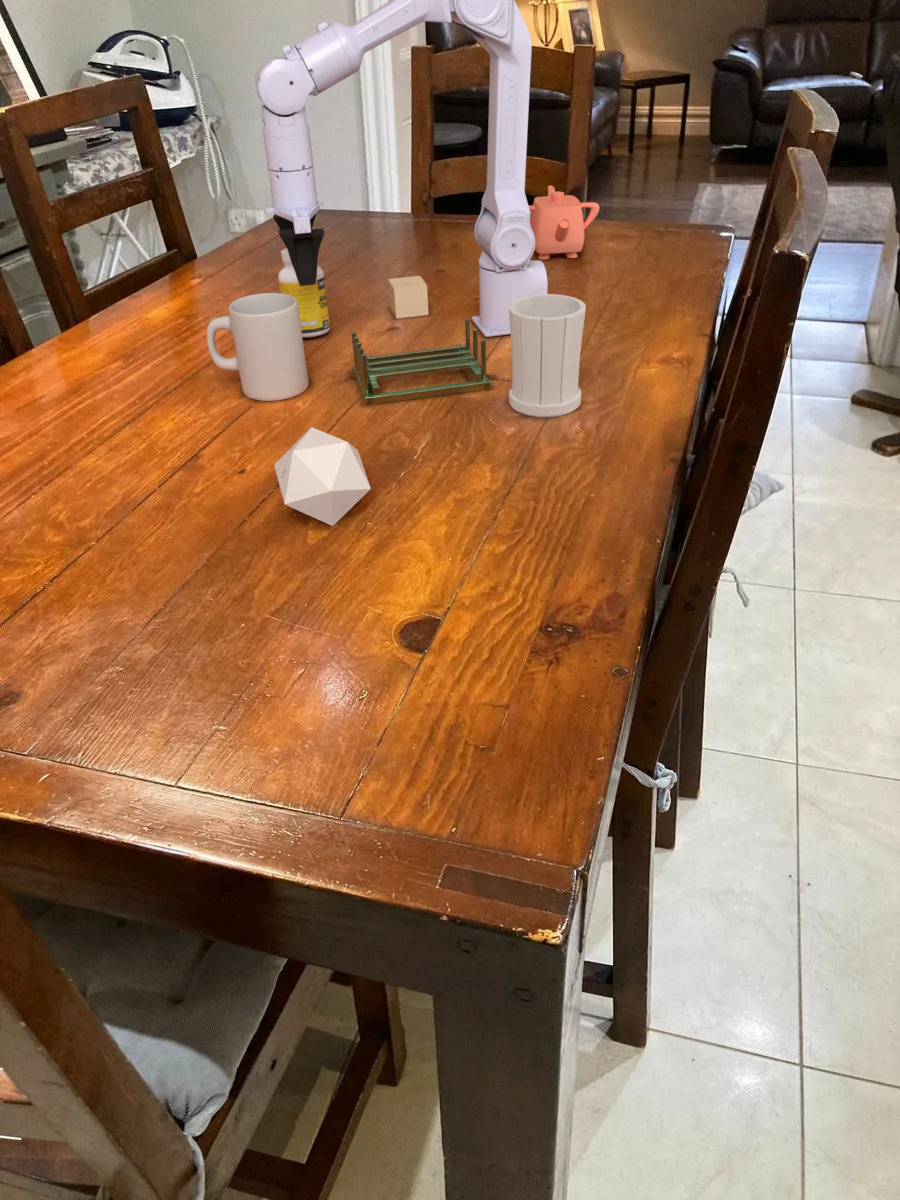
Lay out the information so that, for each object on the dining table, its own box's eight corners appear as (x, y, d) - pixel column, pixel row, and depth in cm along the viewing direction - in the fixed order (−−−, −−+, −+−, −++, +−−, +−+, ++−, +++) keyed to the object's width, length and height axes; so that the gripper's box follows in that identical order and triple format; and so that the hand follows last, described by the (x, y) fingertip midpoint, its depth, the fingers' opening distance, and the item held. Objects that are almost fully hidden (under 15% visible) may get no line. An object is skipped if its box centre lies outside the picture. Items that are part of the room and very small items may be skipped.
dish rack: (469, 358, 127) (468, 314, 123) (490, 389, 118) (490, 343, 114) (352, 372, 124) (348, 328, 120) (366, 405, 115) (361, 358, 112)
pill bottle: (322, 339, 133) (312, 253, 127) (279, 339, 134) (267, 254, 128) (336, 327, 138) (326, 244, 132) (295, 327, 140) (283, 245, 134)
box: (421, 304, 145) (420, 275, 143) (428, 315, 141) (427, 285, 139) (390, 308, 145) (388, 279, 142) (396, 318, 141) (394, 288, 138)
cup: (490, 392, 117) (489, 297, 110) (554, 379, 120) (557, 285, 113) (528, 425, 109) (530, 324, 102) (596, 409, 112) (602, 310, 105)
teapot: (609, 253, 164) (612, 191, 158) (563, 268, 158) (565, 205, 152) (549, 239, 173) (550, 180, 167) (503, 253, 167) (503, 192, 161)
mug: (313, 374, 124) (302, 291, 118) (304, 400, 117) (292, 313, 111) (223, 377, 124) (207, 294, 118) (209, 403, 117) (192, 317, 111)
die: (305, 490, 99) (247, 442, 91) (374, 448, 97) (321, 395, 89) (322, 552, 95) (263, 508, 87) (396, 509, 93) (342, 459, 85)
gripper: (255, 159, 123) (270, 264, 131) (263, 181, 111) (279, 295, 119) (308, 154, 124) (320, 259, 132) (321, 176, 113) (334, 289, 120)
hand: (304, 276), depth 126 cm, fingers open, 7 cm apart
